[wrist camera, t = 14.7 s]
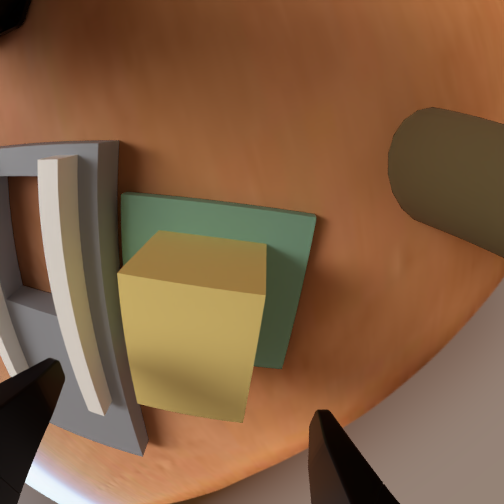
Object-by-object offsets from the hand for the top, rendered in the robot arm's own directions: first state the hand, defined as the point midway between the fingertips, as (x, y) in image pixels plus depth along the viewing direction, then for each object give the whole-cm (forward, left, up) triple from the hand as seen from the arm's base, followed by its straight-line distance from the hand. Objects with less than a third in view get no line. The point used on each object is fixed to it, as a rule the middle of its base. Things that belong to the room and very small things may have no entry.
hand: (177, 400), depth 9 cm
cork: (-8, +10, -8) cm, 15 cm away
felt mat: (0, 0, -7) cm, 7 cm away
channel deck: (+5, -11, -7) cm, 14 cm away
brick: (0, 0, -7) cm, 7 cm away
